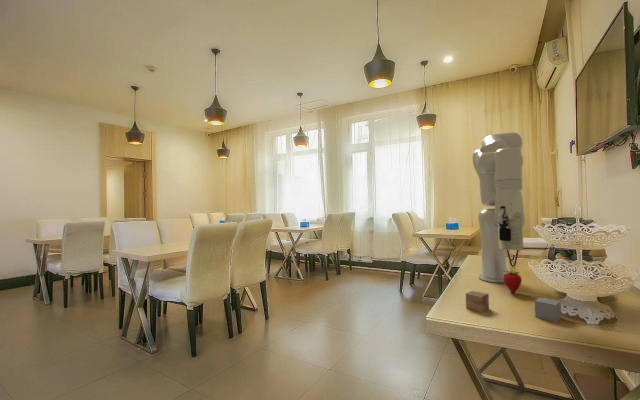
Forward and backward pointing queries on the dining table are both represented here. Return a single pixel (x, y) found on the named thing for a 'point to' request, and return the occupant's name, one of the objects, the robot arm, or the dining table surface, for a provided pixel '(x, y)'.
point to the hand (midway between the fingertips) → (510, 239)
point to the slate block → (548, 309)
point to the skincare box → (513, 235)
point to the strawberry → (512, 280)
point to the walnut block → (477, 301)
